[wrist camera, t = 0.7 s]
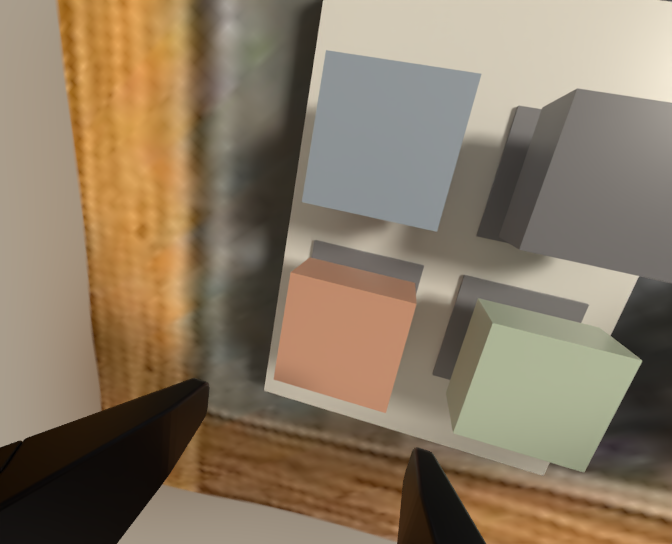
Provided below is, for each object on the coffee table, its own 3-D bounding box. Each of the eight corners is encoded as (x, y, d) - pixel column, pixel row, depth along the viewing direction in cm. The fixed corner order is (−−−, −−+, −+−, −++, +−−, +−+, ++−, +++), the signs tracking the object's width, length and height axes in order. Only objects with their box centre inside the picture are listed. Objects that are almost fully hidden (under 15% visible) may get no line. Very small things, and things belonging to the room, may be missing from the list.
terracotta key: (415, 282, 14) (416, 303, 11) (389, 377, 15) (385, 413, 13) (309, 257, 14) (290, 272, 12) (293, 349, 16) (273, 379, 13)
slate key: (466, 94, 12) (481, 73, 9) (431, 222, 13) (436, 231, 11) (341, 75, 12) (325, 50, 10) (319, 198, 14) (301, 202, 11)
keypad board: (713, 36, 13) (771, 9, 11) (529, 446, 19) (544, 479, 17) (338, -11, 15) (327, -41, 13) (276, 371, 21) (262, 392, 19)
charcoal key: (690, 131, 11) (769, 117, 8) (628, 264, 12) (681, 285, 10) (542, 107, 11) (576, 88, 9) (498, 236, 13) (519, 250, 10)
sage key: (599, 327, 13) (642, 360, 11) (554, 423, 14) (584, 472, 12) (477, 298, 14) (492, 323, 11) (445, 392, 15) (453, 433, 12)
